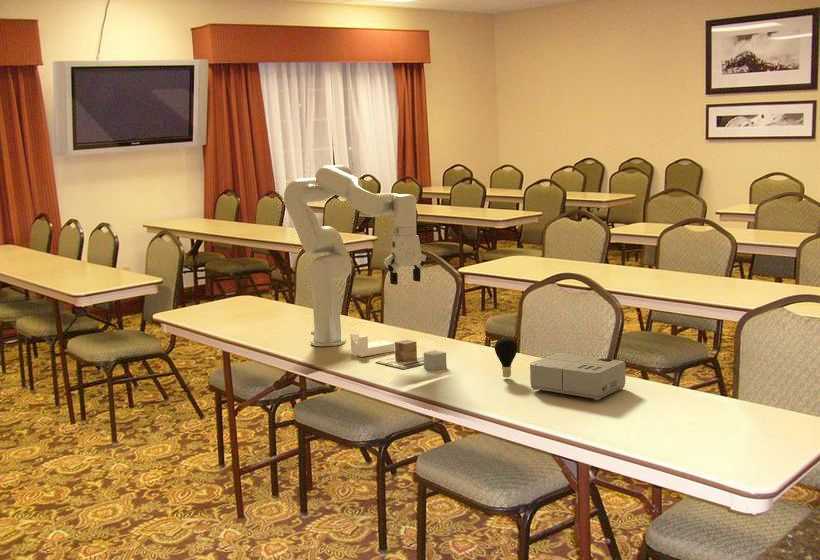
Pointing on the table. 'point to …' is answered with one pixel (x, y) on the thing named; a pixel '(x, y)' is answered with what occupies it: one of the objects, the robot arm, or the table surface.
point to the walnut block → (405, 350)
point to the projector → (577, 375)
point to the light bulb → (506, 354)
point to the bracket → (369, 346)
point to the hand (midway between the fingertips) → (405, 282)
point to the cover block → (435, 360)
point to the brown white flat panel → (403, 363)
